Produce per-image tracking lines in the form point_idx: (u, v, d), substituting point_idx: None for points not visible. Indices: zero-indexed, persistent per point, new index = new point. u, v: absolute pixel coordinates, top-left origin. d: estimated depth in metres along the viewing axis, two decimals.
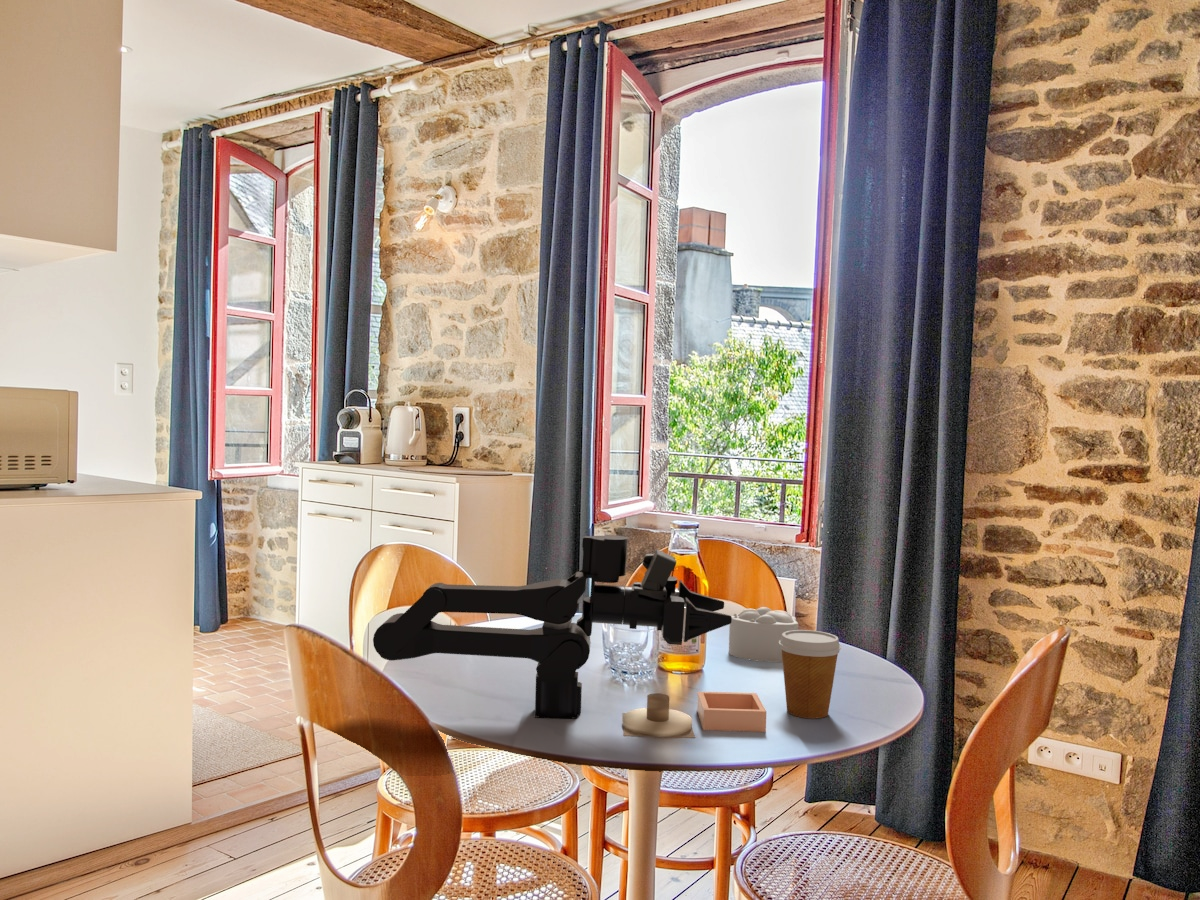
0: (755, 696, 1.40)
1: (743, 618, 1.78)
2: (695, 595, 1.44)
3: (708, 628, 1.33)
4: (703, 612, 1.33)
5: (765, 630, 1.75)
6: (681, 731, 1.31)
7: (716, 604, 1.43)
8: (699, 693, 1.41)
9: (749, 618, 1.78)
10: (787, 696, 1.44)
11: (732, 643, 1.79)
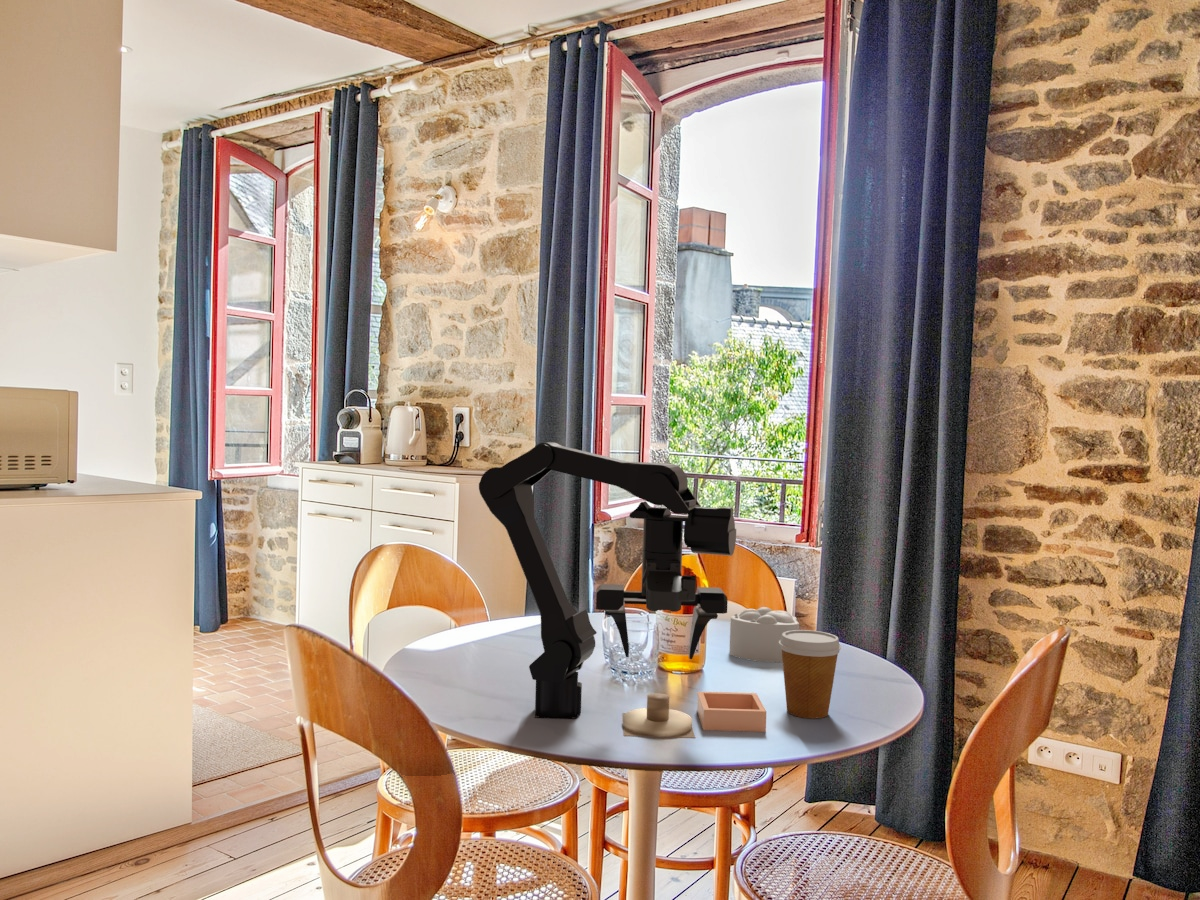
0: (755, 696, 1.40)
1: (744, 618, 1.78)
2: (693, 629, 1.33)
3: None
4: None
5: (766, 630, 1.75)
6: (681, 731, 1.31)
7: (689, 650, 1.34)
8: (699, 693, 1.41)
9: (750, 618, 1.78)
10: (787, 696, 1.44)
11: (733, 643, 1.79)
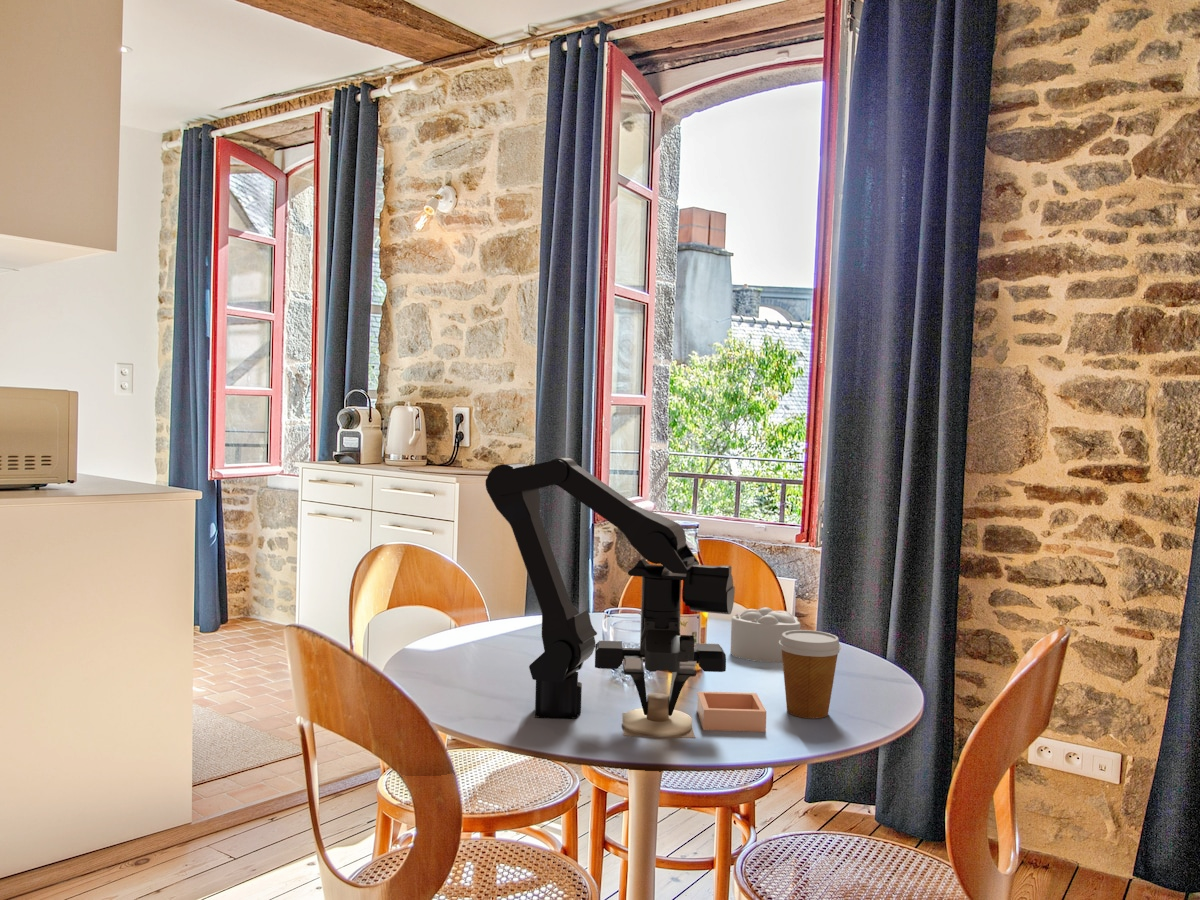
0: (755, 696, 1.40)
1: (745, 618, 1.78)
2: (673, 686, 1.33)
3: None
4: (636, 687, 1.33)
5: (768, 630, 1.75)
6: (681, 731, 1.31)
7: None
8: (699, 693, 1.41)
9: (751, 618, 1.78)
10: (787, 696, 1.44)
11: (734, 643, 1.79)
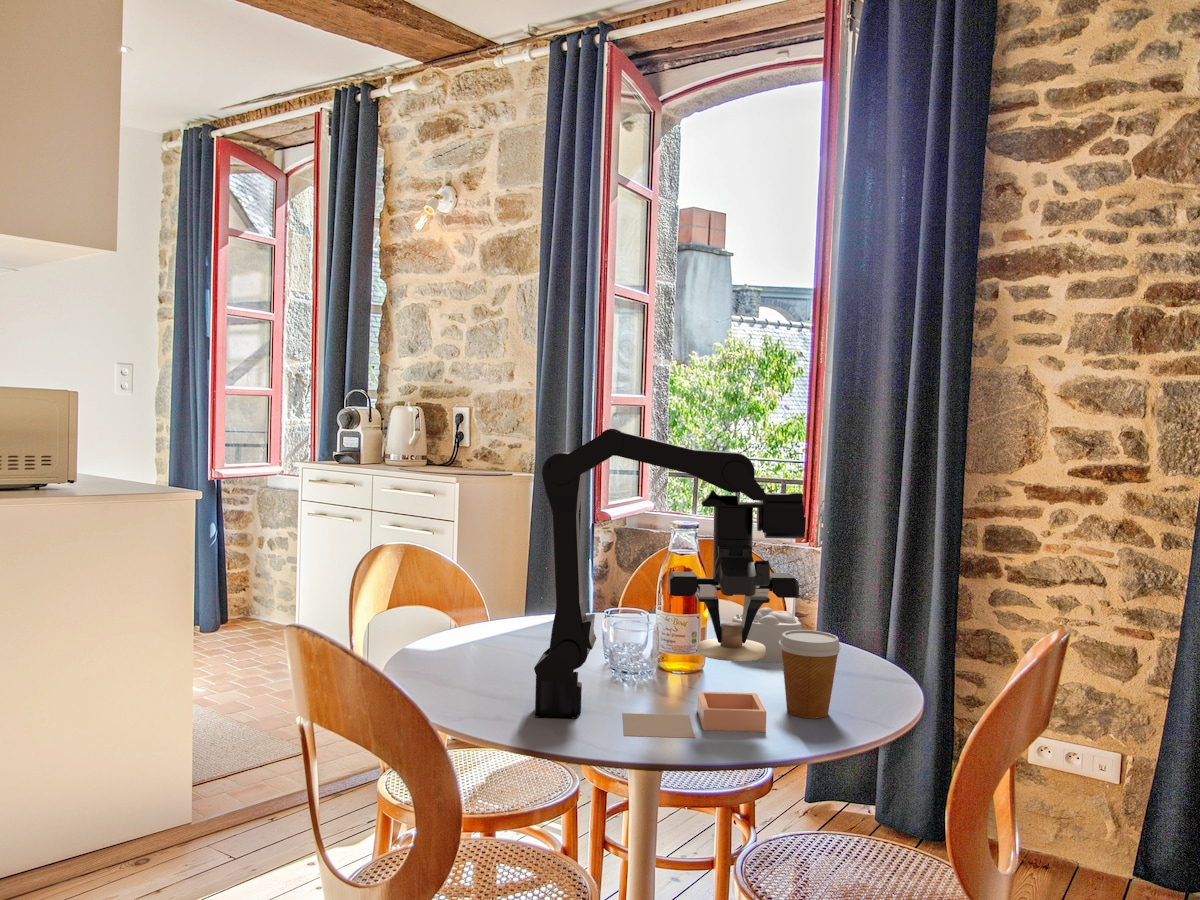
0: (755, 696, 1.40)
1: None
2: (746, 614, 1.36)
3: None
4: (710, 614, 1.36)
5: (769, 631, 1.75)
6: (756, 656, 1.33)
7: (742, 635, 1.37)
8: (699, 693, 1.41)
9: None
10: (787, 696, 1.44)
11: None
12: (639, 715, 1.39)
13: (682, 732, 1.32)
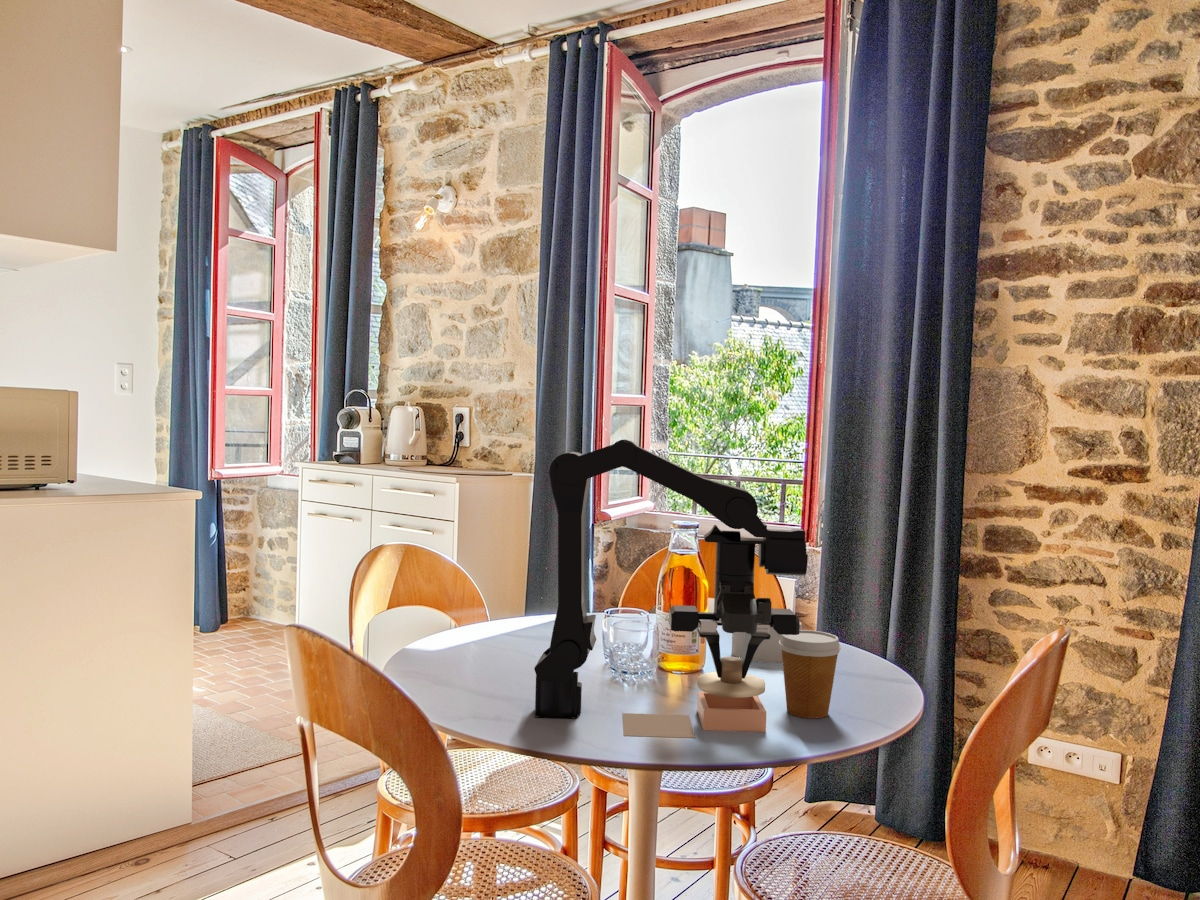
0: (755, 696, 1.40)
1: None
2: (746, 649, 1.36)
3: (711, 652, 1.38)
4: (710, 649, 1.36)
5: (769, 631, 1.75)
6: (756, 692, 1.33)
7: None
8: (699, 693, 1.41)
9: None
10: (787, 696, 1.44)
11: (735, 644, 1.78)
12: (639, 715, 1.39)
13: (682, 732, 1.32)
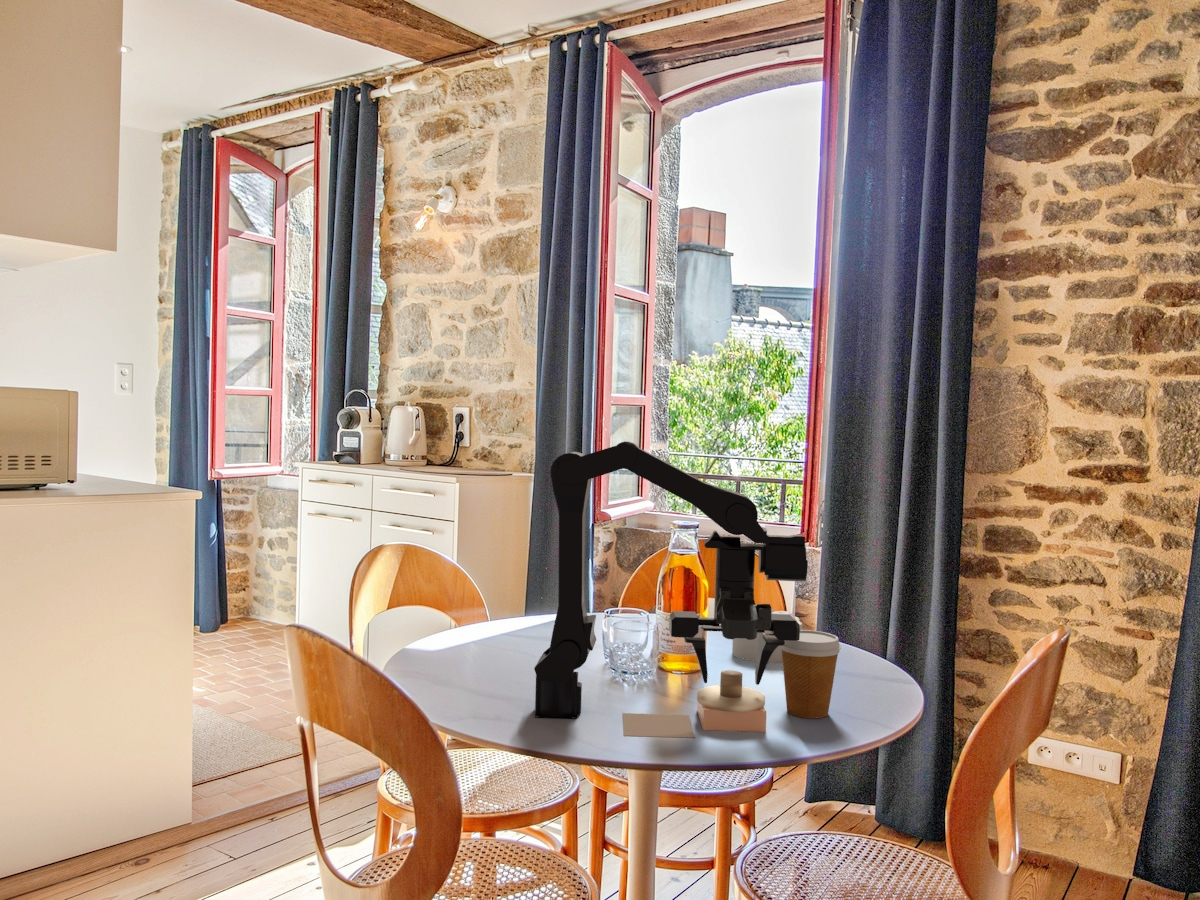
0: None
1: None
2: (761, 656, 1.36)
3: (697, 657, 1.39)
4: None
5: None
6: (756, 706, 1.33)
7: (756, 676, 1.37)
8: None
9: None
10: (787, 696, 1.44)
11: (736, 644, 1.78)
12: (639, 715, 1.39)
13: (682, 732, 1.32)
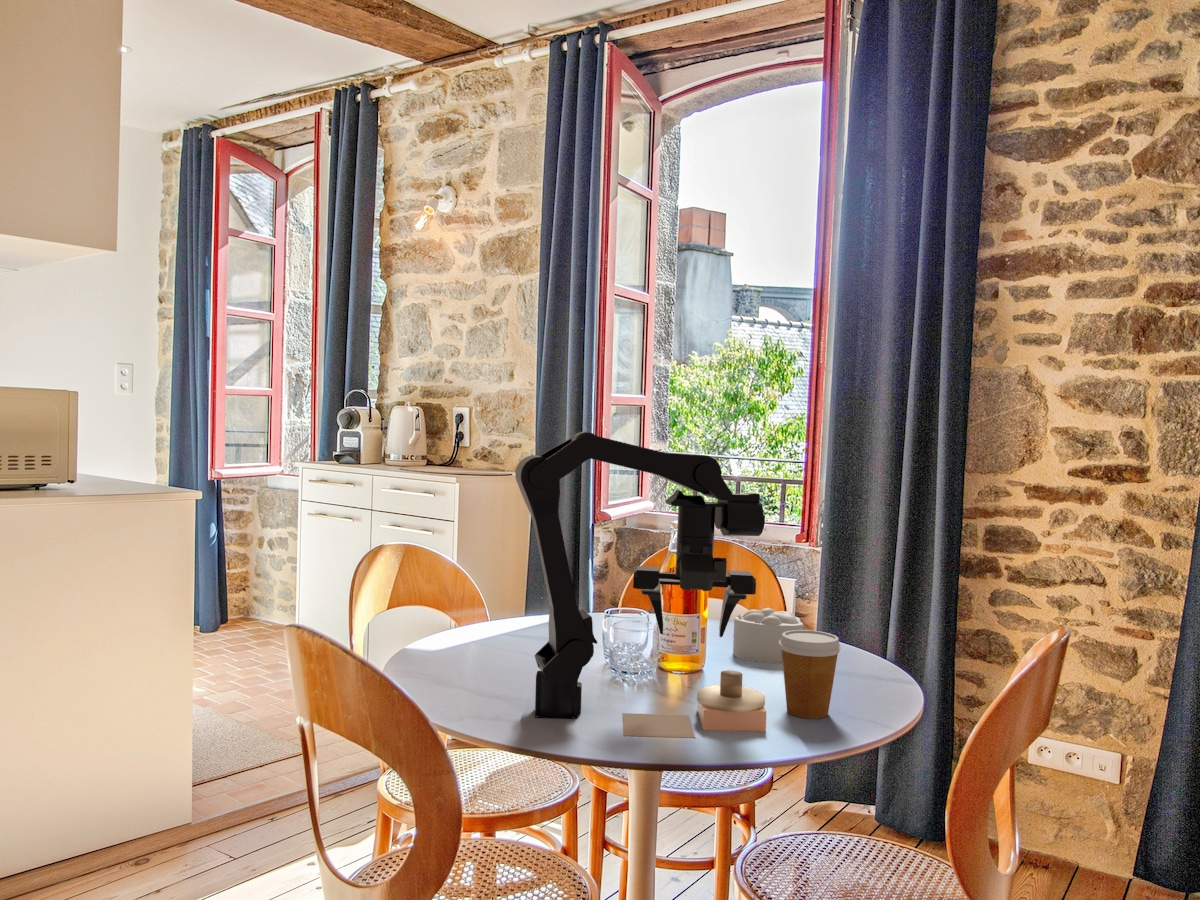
0: None
1: (748, 619, 1.77)
2: (724, 609, 1.42)
3: None
4: (653, 607, 1.43)
5: (771, 631, 1.74)
6: (756, 706, 1.33)
7: (719, 629, 1.44)
8: None
9: (754, 619, 1.77)
10: (787, 696, 1.44)
11: (737, 644, 1.78)
12: (639, 715, 1.39)
13: (682, 732, 1.32)
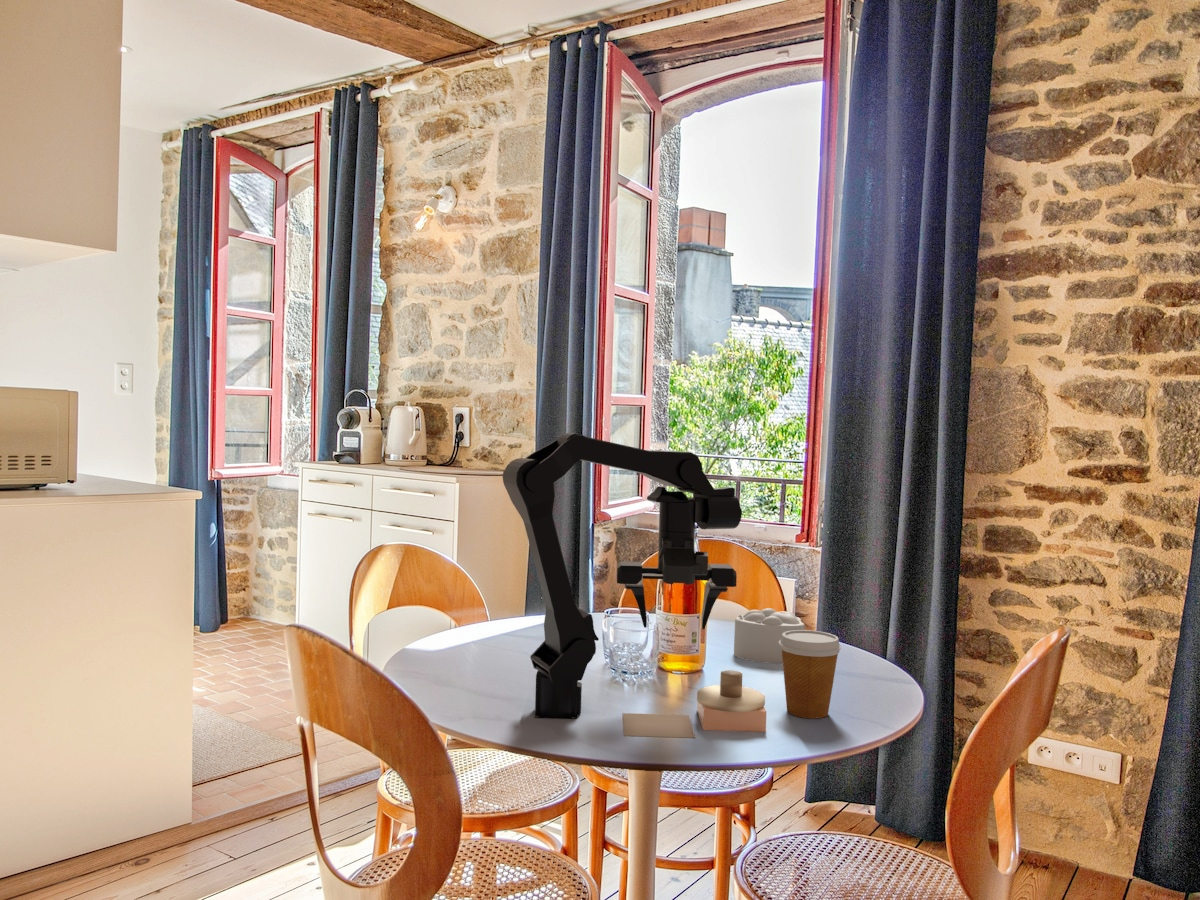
0: None
1: (749, 619, 1.77)
2: (705, 602, 1.46)
3: None
4: None
5: (772, 631, 1.74)
6: (756, 706, 1.33)
7: (701, 621, 1.47)
8: None
9: (755, 619, 1.77)
10: (787, 696, 1.44)
11: (738, 645, 1.78)
12: (639, 715, 1.39)
13: (682, 732, 1.32)
